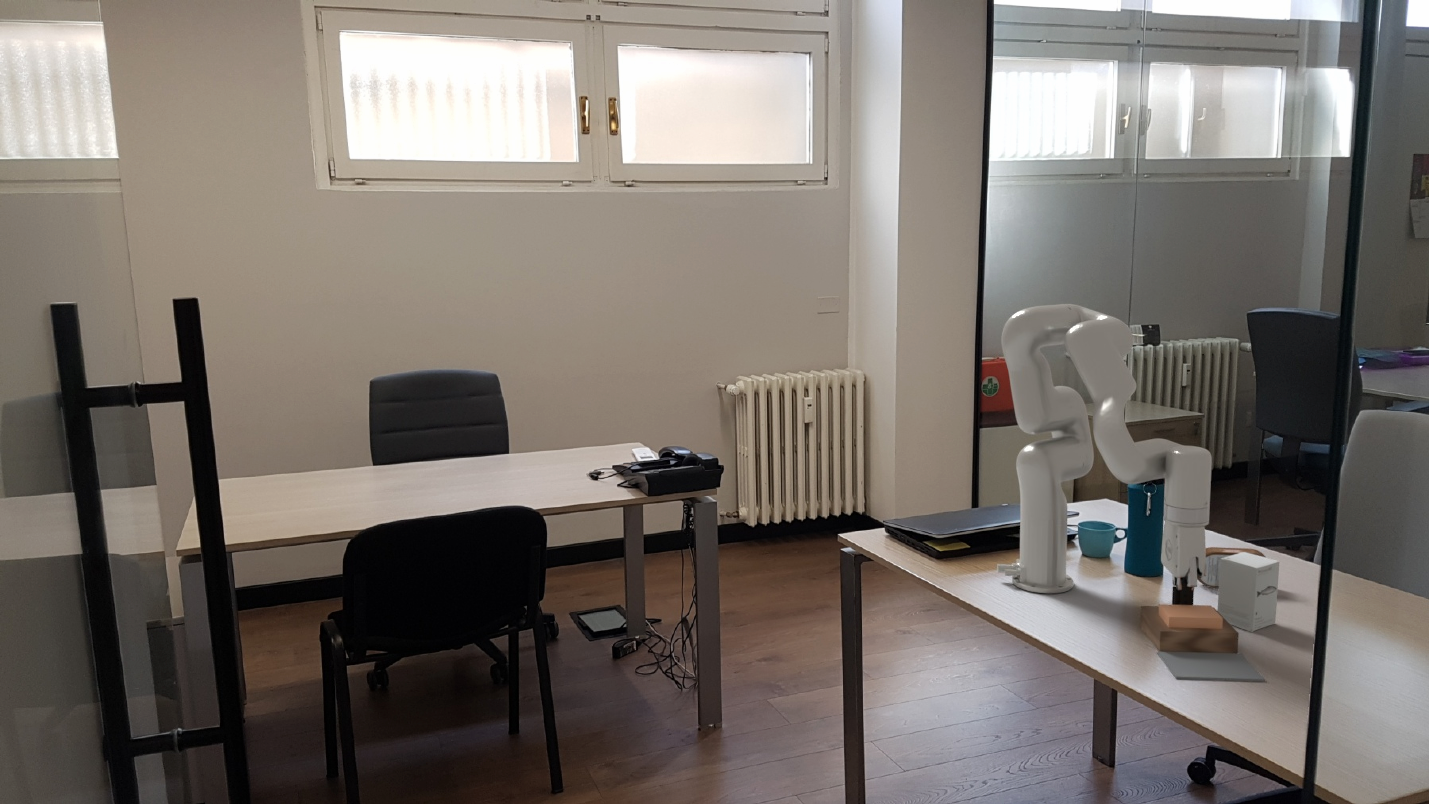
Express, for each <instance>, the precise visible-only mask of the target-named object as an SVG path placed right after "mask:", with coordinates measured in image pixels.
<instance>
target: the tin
mask: <svg viewBox="0 0 1429 804" xmlns="http://www.w3.org/2000/svg"><path fill="white" fill-rule="evenodd" d="M1242 552H1246V553H1250V554H1254V555H1258V556H1262V557H1265V558H1267V557H1266V555H1265V554H1264V553H1262V551H1260V550H1258V549H1254V548H1244V547H1242V548H1241V547H1222V546H1221V547H1219V546H1218V547H1217V546H1210V547H1206V558H1205V573H1204V576H1203V577H1202V578H1201V579H1200V578H1198V577H1197V582H1199V583H1200V584H1201V585H1204V586H1205V587H1208V588H1214V589H1219V576H1220V560H1221V558H1224V557H1228V556H1231V555H1235V554H1238V553H1242Z"/></svg>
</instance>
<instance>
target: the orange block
mask: <svg viewBox="0 0 1429 804" xmlns="http://www.w3.org/2000/svg"><path fill="white" fill-rule="evenodd" d="M1158 606H1159V616H1160V617H1161V618H1162V620H1163V621H1164V622H1165V623H1166V625H1167V626H1168V627H1172V628H1211V629H1222V624H1223V618H1222V617H1221V616H1220V615H1219V614H1218V613H1217V612H1216V610H1217V609H1216V608H1215V607H1214V608H1215V609H1216V610H1215V609H1214V608H1213V606H1212V605H1208V604H1205V605H1203V604H1201V605H1197V604H1193V605H1172V604H1163V603H1162V604H1161V603H1160V604H1159V603H1158Z"/></svg>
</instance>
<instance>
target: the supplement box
mask: <svg viewBox="0 0 1429 804" xmlns="http://www.w3.org/2000/svg"><path fill="white" fill-rule="evenodd" d="M1265 557H1266V556H1265ZM1265 557H1262V556H1258V555H1254V554H1250V553H1246V552H1242V553H1238V554H1235V555H1231V556H1228V557H1224V558H1221V560H1220V576H1219V588H1218V596H1217V609H1216V610H1217V611H1218V612H1219V613H1220V614H1221V615H1222V616H1223V618H1224V619H1225V620H1226V621H1227V622H1228V623H1229V624H1230V625H1231V626H1232V627H1235V628H1239V629H1242V630H1244V631H1248V632H1251V633H1253V632H1254V631H1257V630H1260V629H1263V628H1265V627H1269V626H1271V625H1275V624H1276V616H1277V602H1278V590H1279V589H1278V588H1279V573H1280V572H1279V571H1280V561H1279V560H1275V559H1272V558H1268V557H1266V558H1265Z"/></svg>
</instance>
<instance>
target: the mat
mask: <svg viewBox="0 0 1429 804" xmlns="http://www.w3.org/2000/svg"><path fill="white" fill-rule="evenodd" d="M1157 655H1158V656H1159V658H1160V659H1161V661H1162V662H1163V663H1164V664H1165V666H1166V667H1167V669H1168V671H1169V672H1170V673H1171V675H1172V676H1173V678H1174V679H1175V680H1199V681H1200V680H1207V681H1208V680H1209V681H1235V682H1236V681H1237V682H1265V683H1266V678H1265V677H1264V676H1263V675H1262V674H1261V673H1260V672H1259V671H1258V669H1256V667H1255V666H1254V665H1253V664H1252V663H1251V662H1250V661H1249V660H1248V658H1247V657H1245V655H1244V654H1242V653H1237V654H1236V653H1199V652H1162V651H1158V650H1157Z"/></svg>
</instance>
